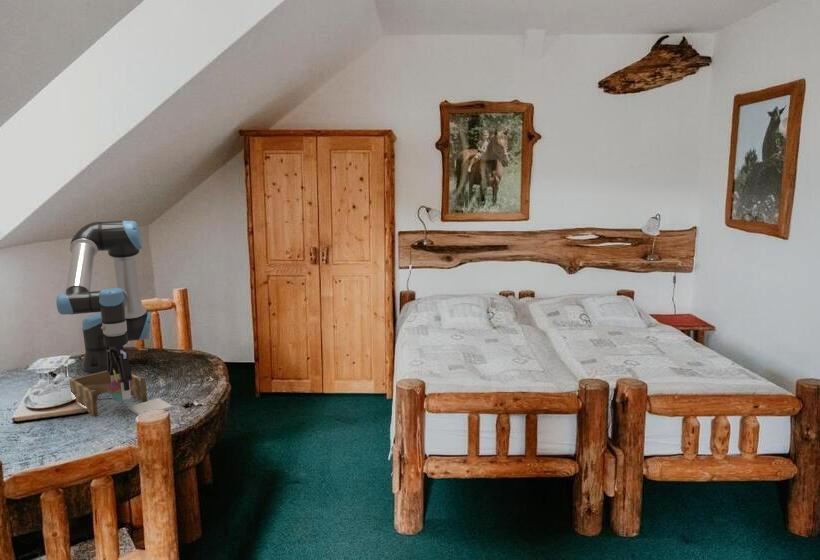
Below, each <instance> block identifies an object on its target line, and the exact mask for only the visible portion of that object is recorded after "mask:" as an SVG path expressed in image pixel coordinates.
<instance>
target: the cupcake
mask: <svg viewBox="0 0 820 560" xmlns="http://www.w3.org/2000/svg"><path fill="white" fill-rule="evenodd" d="M113 373H114V376H115V381H113V382H111V383H110V384H109V385H108V392H107V393H110V394H111V396H112V397H113V400H114V401H115V402H124V401H127V400H129V399H125V400H122V391H121V383H120V381H122V380H121V379H117V376H116V372H115V370H114V368H113ZM129 382H130V392H131V390H132V389H134V384H133V382H132V381H129Z"/></svg>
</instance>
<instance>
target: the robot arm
mask: <svg viewBox="0 0 820 560" xmlns="http://www.w3.org/2000/svg"><path fill="white" fill-rule="evenodd" d="M142 238H143V236H142V233H141V229H140V226H139V225H138V223H137V222H136V221H134V220H125V219H124V220H112V221H111V220H109V221H93V222H90V223H86V224H85V225H84V226H82V227H81V228H80V229H78V230H77V231H76V233H75V234H74V235H73V236H72V239H71V241H70V245H69V251H70V253H71V257H70V264H69V270H68V275H67V276H68V277H67V282H66V287H65V288H66V289H65V292H62V293H59V294H58V295H57V296H56V302H55V304H56V309H57V313H59V314H60V315H64V316H65V315H78V314H89V315H87V316H85V317H84V318H83V319H82V323H81V324H82V334H83V335H82V336H83V343H84V350H85V351H84V355H83V360H82V365H81V367H82V370H83V372H85V373H99V372H103V371H108V372H109V374H110V375H111V382H113V381H115V376H114V373H113V368H114V370H115V372H116V376H117V379H120V377H119V374H117V373H120V376H121V380H122V381H120V383H121V391H122V400H125V399H128V400H129V399H131V398H132V395H131V392H130V382H129V381H130V380H132V375H131V373H132V370H131V364H130V357H129V355H130V354H129V352H128V351H126V350H125V348H124V346H125V345H127V344H128V342H130V341H131V342H132V341H140V340H141V341H142V340H147V339H148V338H149V337H150V333H151V319H152V318H151V317H152V314H151V312H150V311H149V312H148V311H147V308H146V307H145V306H143V303H142V295H141V287H140V279H139V269H138V263H137V256H138V255H139V254H140V250H141V249H143V246H144V245H143V239H142ZM99 251H101V252H102V251H107V253H108V256H109V257H110V258H112V260H113V264H114V265H113V268H114V273H115V280H116V287H113V288H105V289H103V290H95V291H94V290H93V291H91V284H92V275H93V269H94V268H93V267H94V259H95V256H96V255H97V253H98V252H99ZM90 313H91V314H90ZM92 313H93V314H92ZM118 369H119V370H118ZM125 401H126V400H125Z"/></svg>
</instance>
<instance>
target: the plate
mask: <svg viewBox="0 0 820 560" xmlns="http://www.w3.org/2000/svg"><path fill="white" fill-rule="evenodd" d="M173 407H174V406H173V405H172V404H171V403H168V402H167V401H165V400H164V399H162V398H160V397H158V398H155V399H154V398H153V399H150V400H147V402H143V401H142V402H140V403H137V404H133V405H130V406H128V410H129V411H131V412H132V413H134V414H135V415H137V416H138V414H140V413H142V412H144V411H147V410H151V409H163V410H167V411H169V410H172V409H173Z"/></svg>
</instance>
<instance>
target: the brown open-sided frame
mask: <svg viewBox="0 0 820 560" xmlns="http://www.w3.org/2000/svg"><path fill="white" fill-rule="evenodd" d="M118 370H119V369H118ZM117 374H119V377H120V379H121V376H120V373H117ZM131 375H132V380H130V381H132V382H133V384H134V389H132V390H131V396H133V397H134V398H136V399H137V400H139V401H141V402H142V403H143V402H147V401H148V391H147V382H146V377H144V376H142V377H139V376H137V375H136V374H133V373H132V372H131ZM110 383H111V375H110V374H109V372H108V371H103V372H93V373H91V374H86V375H83V376H78V377H75V378H70V379H69V387H70V393H71V392H72V393H73V394H74V395H75V397H76V401H77V402H79V403H81V404H82V405H84V406H86V407H87V409H88V411H87V412H88V413H89V414H90V415H92V416H93V417H94V418H95V417H98V416H99V410H98V402H97V401H98V400H97V395H100V394H104V393H109V392H108V385H109V384H110Z"/></svg>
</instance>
